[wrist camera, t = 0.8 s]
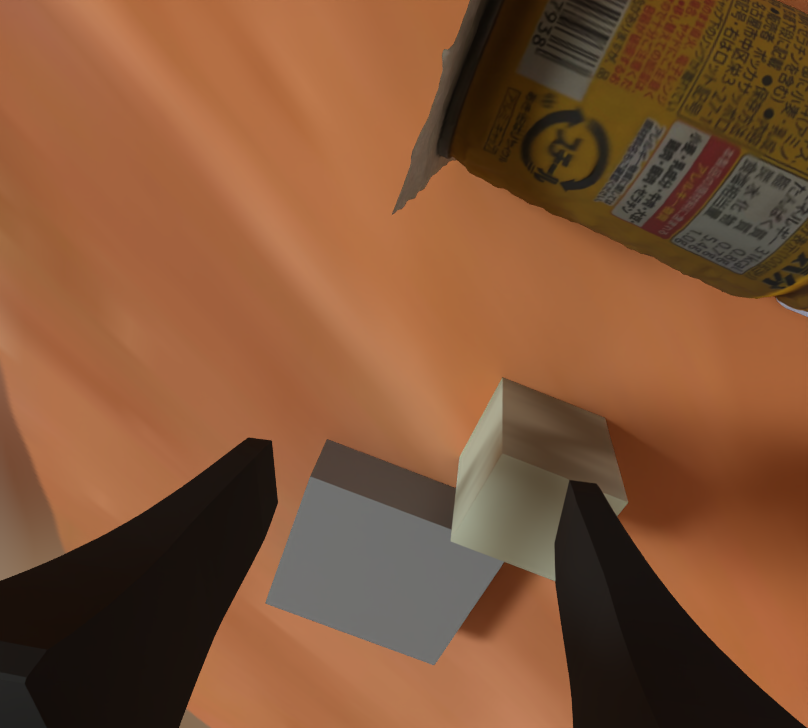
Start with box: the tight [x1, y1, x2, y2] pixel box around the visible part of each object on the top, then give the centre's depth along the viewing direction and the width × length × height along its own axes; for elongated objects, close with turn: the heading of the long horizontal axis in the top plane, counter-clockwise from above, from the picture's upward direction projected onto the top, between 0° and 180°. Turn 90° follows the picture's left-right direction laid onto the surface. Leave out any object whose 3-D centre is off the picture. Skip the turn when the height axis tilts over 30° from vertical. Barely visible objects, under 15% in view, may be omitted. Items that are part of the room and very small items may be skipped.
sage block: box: [451, 377, 628, 581], centre depth 22 cm, size 4×4×5 cm
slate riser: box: [266, 439, 504, 665], centre depth 27 cm, size 9×9×3 cm
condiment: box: [392, 0, 808, 312], centre depth 13 cm, size 7×8×12 cm
